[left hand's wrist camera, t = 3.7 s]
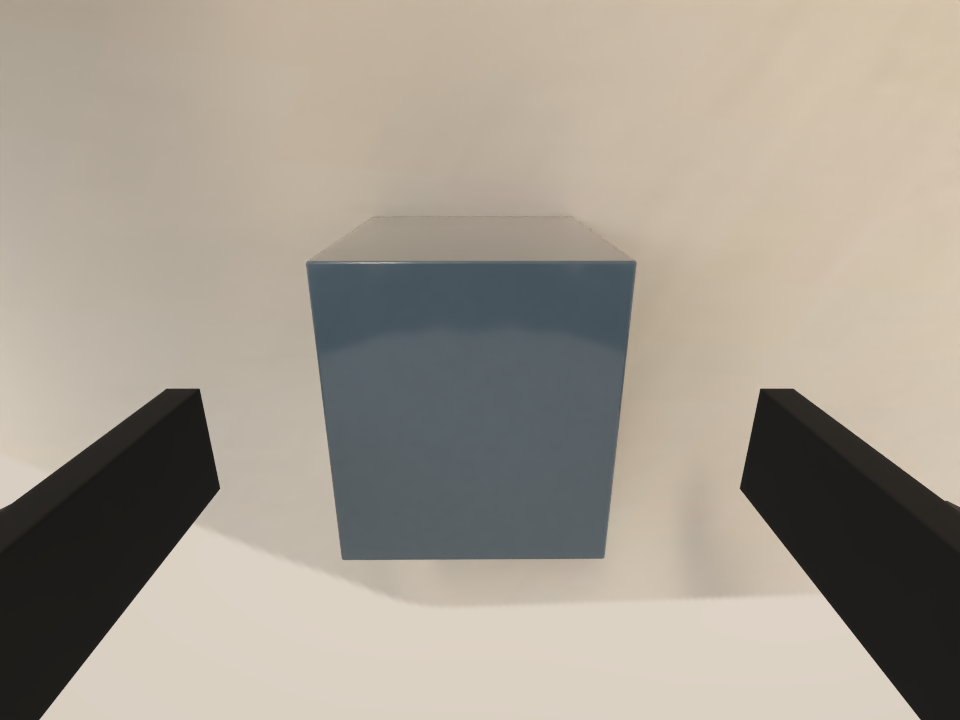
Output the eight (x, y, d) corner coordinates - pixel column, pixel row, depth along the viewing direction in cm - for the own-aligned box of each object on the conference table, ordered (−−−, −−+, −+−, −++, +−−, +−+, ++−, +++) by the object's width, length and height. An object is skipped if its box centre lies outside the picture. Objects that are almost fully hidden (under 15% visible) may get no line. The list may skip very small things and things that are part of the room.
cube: (573, 216, 18) (637, 261, 11) (560, 419, 21) (604, 559, 14) (372, 216, 18) (304, 261, 11) (387, 420, 21) (341, 560, 14)
